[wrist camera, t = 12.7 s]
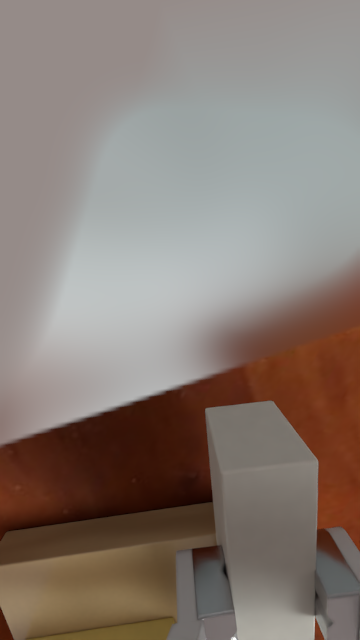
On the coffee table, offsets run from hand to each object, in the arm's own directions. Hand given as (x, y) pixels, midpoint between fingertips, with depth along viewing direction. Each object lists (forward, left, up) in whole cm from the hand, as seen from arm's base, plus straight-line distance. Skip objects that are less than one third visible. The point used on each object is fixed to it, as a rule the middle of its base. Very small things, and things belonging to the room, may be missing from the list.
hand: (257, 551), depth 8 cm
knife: (+6, 0, -2) cm, 6 cm away
